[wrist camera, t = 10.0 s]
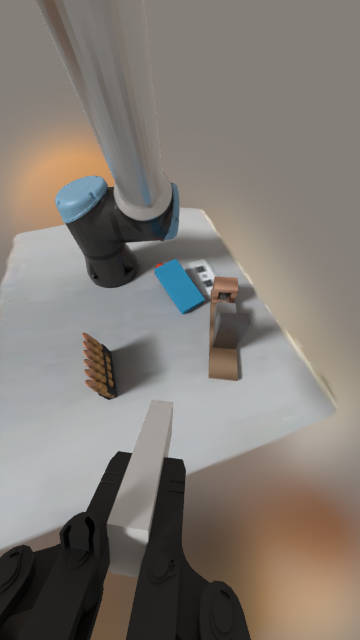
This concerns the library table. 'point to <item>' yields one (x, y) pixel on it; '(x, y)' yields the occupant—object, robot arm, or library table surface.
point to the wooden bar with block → (219, 358)
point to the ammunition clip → (99, 368)
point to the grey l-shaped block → (229, 327)
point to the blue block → (178, 285)
